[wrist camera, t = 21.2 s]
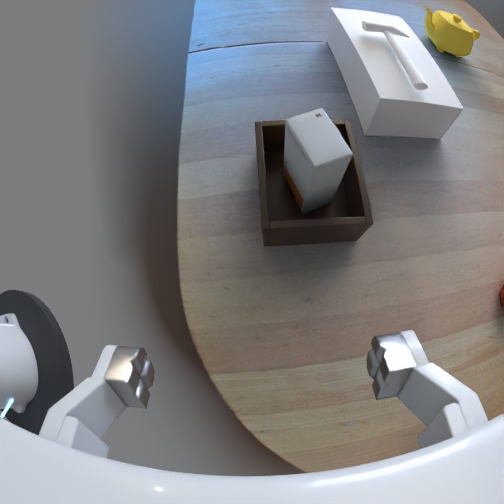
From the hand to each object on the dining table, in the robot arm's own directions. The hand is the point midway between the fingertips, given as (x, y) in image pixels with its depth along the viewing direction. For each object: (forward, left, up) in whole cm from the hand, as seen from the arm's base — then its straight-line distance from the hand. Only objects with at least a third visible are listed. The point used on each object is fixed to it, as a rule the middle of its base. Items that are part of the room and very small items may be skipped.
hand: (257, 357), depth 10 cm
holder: (+6, +17, -24) cm, 30 cm away
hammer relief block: (+23, +39, -24) cm, 51 cm away
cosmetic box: (+6, +17, -24) cm, 30 cm away
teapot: (+47, +58, -24) cm, 78 cm away
